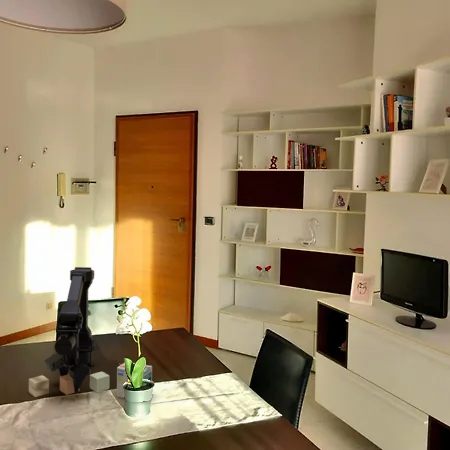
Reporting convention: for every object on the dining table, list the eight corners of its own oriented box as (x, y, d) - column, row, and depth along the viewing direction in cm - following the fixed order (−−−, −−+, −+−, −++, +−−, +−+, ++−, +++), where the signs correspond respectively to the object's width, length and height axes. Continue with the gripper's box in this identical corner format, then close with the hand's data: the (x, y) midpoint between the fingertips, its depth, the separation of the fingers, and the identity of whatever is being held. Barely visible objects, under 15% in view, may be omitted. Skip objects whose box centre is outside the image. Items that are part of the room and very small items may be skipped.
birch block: (42, 388, 188) (42, 375, 187) (49, 393, 184) (49, 379, 183) (28, 392, 184) (28, 378, 184) (35, 397, 181) (35, 383, 180)
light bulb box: (152, 394, 186) (153, 365, 185) (143, 402, 180) (144, 372, 178) (125, 389, 189) (126, 360, 188) (115, 397, 183) (116, 367, 182)
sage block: (102, 384, 193) (102, 371, 192) (109, 389, 189) (109, 375, 189) (89, 388, 190) (89, 374, 189) (97, 392, 186) (97, 379, 185)
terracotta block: (72, 386, 190) (72, 373, 190) (79, 391, 187) (79, 377, 186) (59, 390, 187) (59, 376, 186) (66, 395, 183) (66, 381, 183)
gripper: (35, 342, 186) (36, 385, 188) (61, 357, 173) (60, 403, 174) (65, 336, 194) (65, 377, 195) (91, 350, 180) (91, 394, 182)
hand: (69, 387), depth 187 cm, fingers open, 9 cm apart
